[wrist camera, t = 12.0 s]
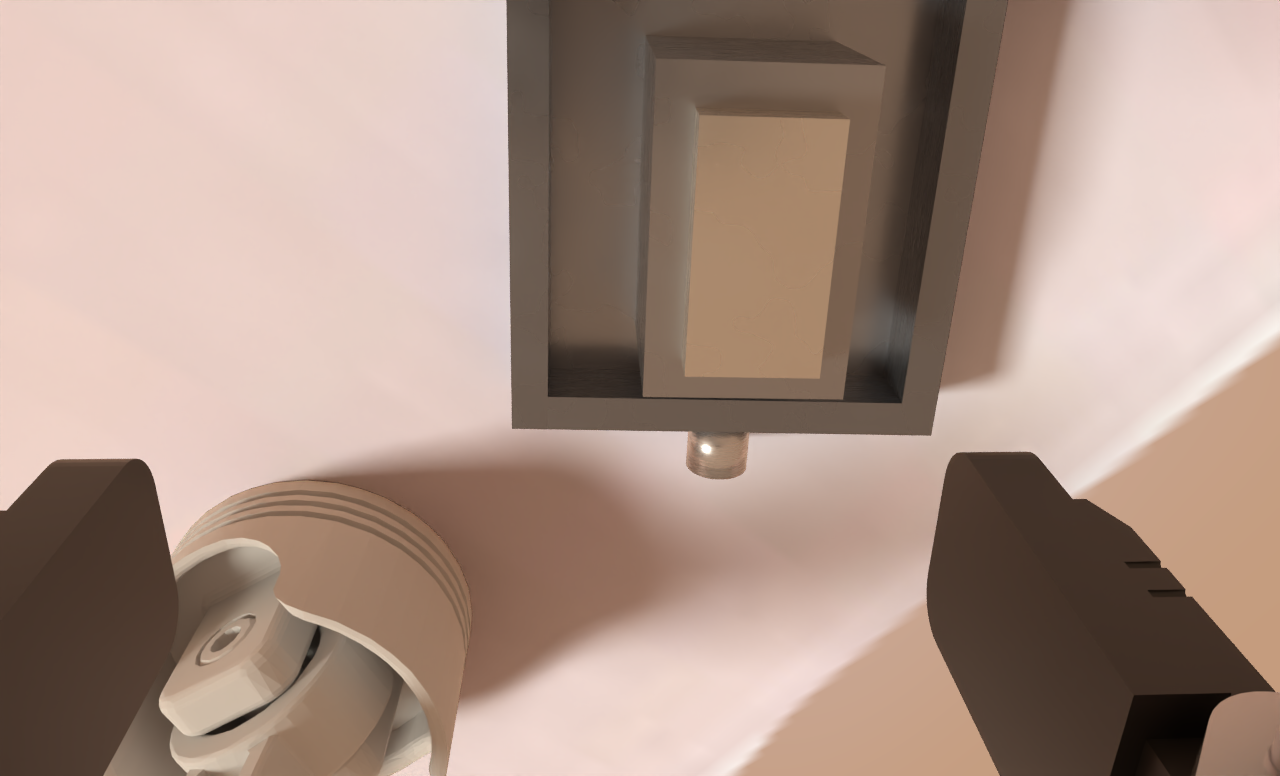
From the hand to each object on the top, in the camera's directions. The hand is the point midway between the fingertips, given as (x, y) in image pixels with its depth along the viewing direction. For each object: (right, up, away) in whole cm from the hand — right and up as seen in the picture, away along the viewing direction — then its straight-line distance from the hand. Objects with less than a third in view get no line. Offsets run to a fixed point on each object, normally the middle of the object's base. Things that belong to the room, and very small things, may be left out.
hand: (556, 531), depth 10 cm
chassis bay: (+3, +7, +18) cm, 20 cm away
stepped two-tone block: (+3, +7, +18) cm, 19 cm away
